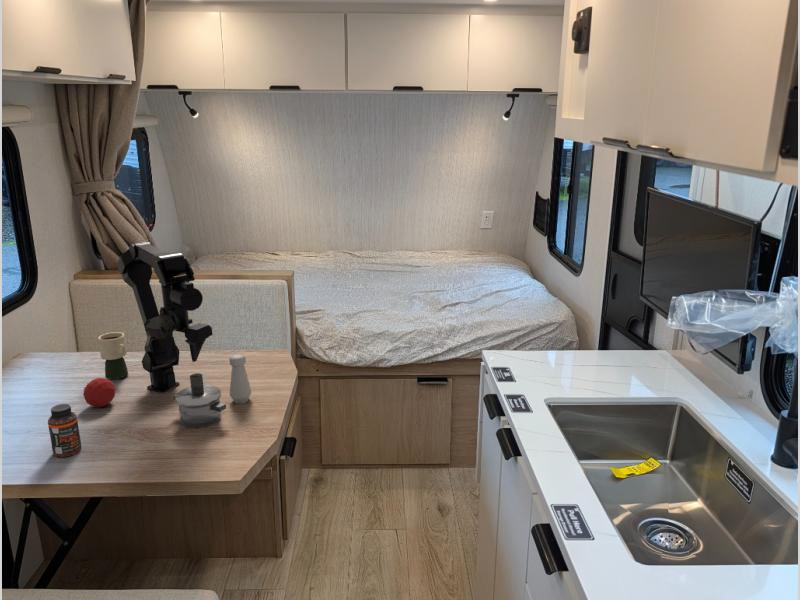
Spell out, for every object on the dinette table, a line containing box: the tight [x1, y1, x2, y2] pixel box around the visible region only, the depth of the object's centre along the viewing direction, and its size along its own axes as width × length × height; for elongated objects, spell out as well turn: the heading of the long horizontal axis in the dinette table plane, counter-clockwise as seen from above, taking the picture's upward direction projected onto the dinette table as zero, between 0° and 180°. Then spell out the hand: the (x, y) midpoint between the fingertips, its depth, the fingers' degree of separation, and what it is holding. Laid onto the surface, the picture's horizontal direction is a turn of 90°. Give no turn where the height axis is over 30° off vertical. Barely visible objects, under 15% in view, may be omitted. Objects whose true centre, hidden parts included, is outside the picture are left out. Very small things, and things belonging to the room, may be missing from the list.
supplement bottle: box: [47, 403, 82, 458], centre depth 142 cm, size 6×6×11 cm
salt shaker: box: [229, 353, 252, 404], centre depth 168 cm, size 6×6×13 cm
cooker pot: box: [172, 392, 227, 429], centre depth 158 cm, size 16×10×6 cm, turn 63°
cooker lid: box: [174, 373, 222, 407], centre depth 157 cm, size 11×11×6 cm
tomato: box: [82, 377, 117, 408], centre depth 166 cm, size 8×8×8 cm
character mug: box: [97, 331, 129, 380], centre depth 183 cm, size 11×7×13 cm, turn 59°
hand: (181, 358), depth 164 cm, fingers open, 9 cm apart
